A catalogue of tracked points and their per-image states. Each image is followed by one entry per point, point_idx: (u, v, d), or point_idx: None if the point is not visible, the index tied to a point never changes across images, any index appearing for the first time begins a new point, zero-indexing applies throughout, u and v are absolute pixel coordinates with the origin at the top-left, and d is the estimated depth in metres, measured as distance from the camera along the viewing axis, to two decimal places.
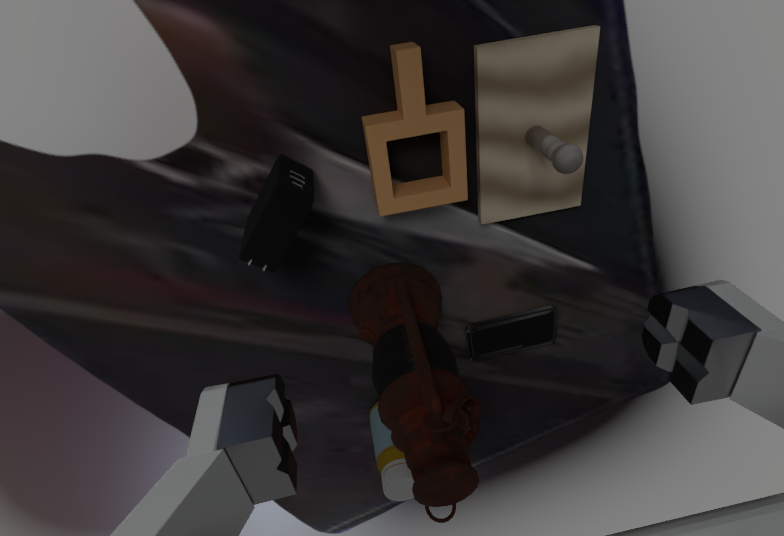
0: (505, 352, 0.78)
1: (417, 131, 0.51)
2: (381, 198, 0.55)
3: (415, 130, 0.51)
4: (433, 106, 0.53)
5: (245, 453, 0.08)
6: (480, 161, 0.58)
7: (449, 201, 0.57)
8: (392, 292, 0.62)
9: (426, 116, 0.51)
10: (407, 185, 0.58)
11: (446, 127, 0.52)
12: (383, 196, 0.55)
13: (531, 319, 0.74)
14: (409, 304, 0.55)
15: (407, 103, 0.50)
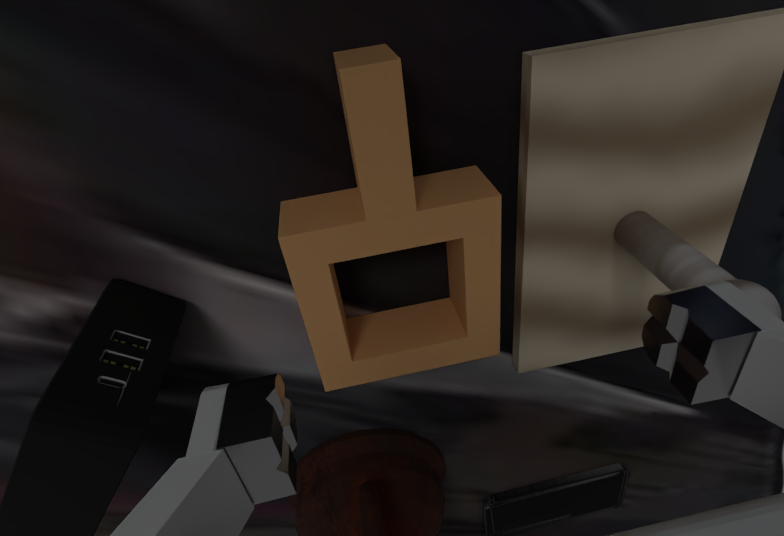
0: (542, 525, 0.50)
1: (397, 242, 0.23)
2: (326, 363, 0.27)
3: (393, 240, 0.23)
4: (432, 180, 0.25)
5: (245, 453, 0.08)
6: (524, 276, 0.30)
7: (464, 359, 0.29)
8: (357, 500, 0.34)
9: (417, 212, 0.23)
10: (382, 320, 0.30)
11: (461, 232, 0.24)
12: (330, 359, 0.27)
13: (587, 484, 0.47)
14: None
15: (373, 188, 0.21)
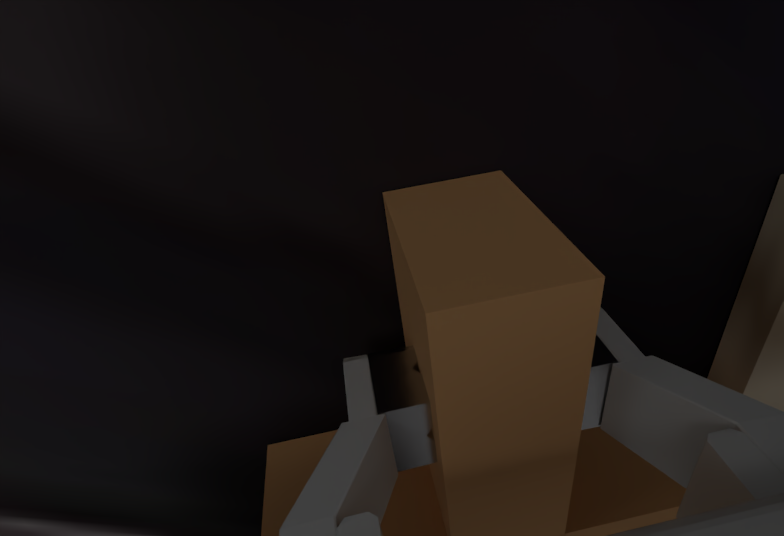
0: None
1: None
2: None
3: None
4: None
5: (403, 419, 0.08)
6: None
7: None
8: None
9: (564, 534, 0.10)
10: None
11: None
12: None
13: None
14: None
15: (478, 514, 0.09)
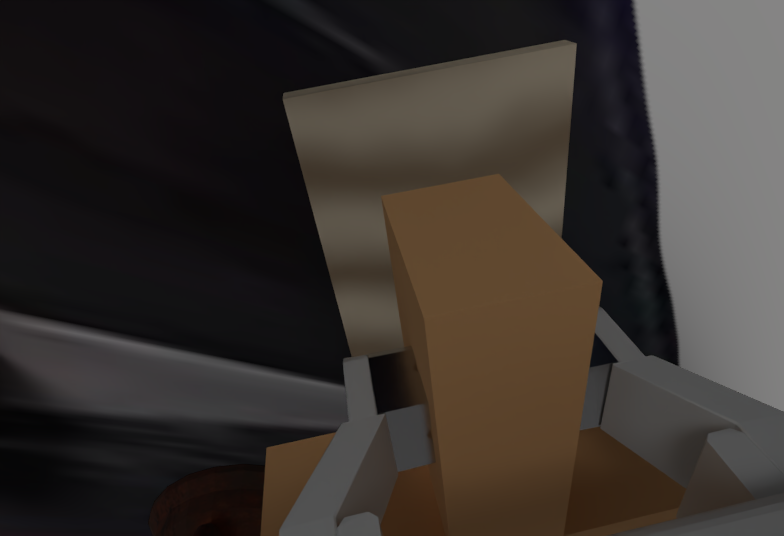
0: None
1: None
2: None
3: None
4: None
5: (403, 419, 0.08)
6: (342, 315, 0.29)
7: None
8: None
9: None
10: None
11: None
12: None
13: None
14: None
15: (477, 516, 0.09)
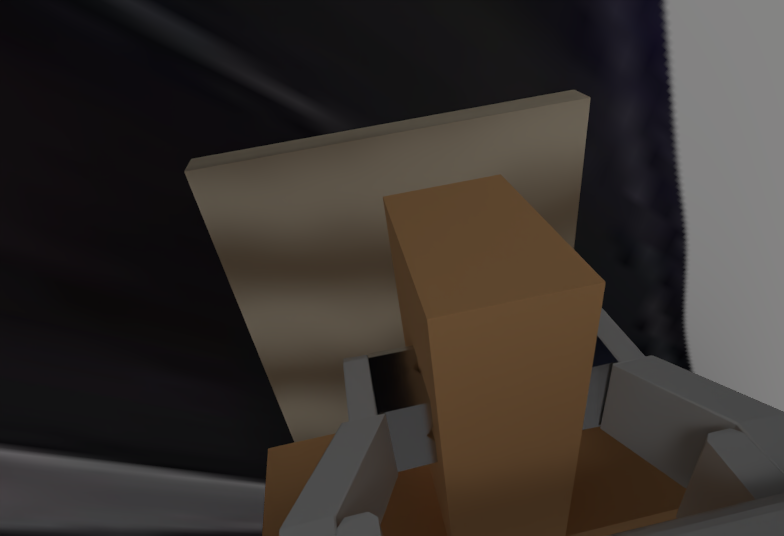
0: None
1: None
2: None
3: None
4: None
5: (403, 418, 0.08)
6: (288, 421, 0.23)
7: None
8: None
9: None
10: None
11: None
12: None
13: None
14: None
15: (479, 517, 0.09)
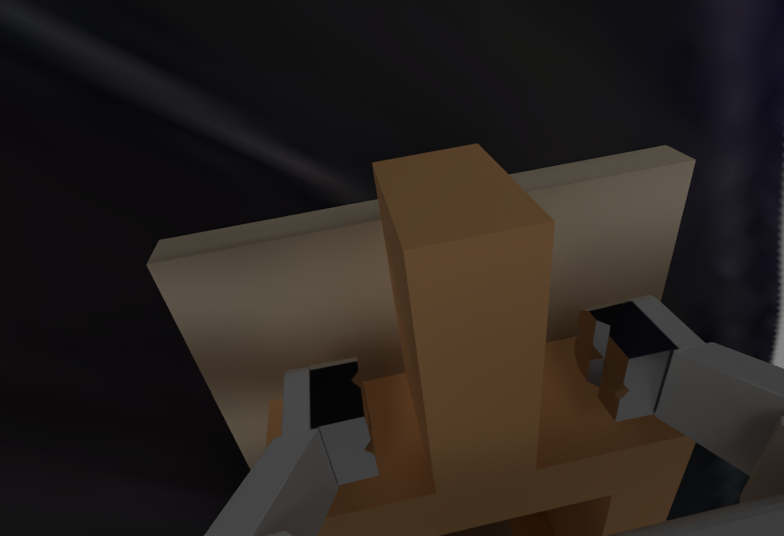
0: None
1: (491, 513, 0.12)
2: None
3: (483, 512, 0.12)
4: None
5: (337, 433, 0.08)
6: None
7: None
8: None
9: (535, 471, 0.11)
10: None
11: (610, 488, 0.12)
12: None
13: None
14: None
15: (456, 446, 0.10)
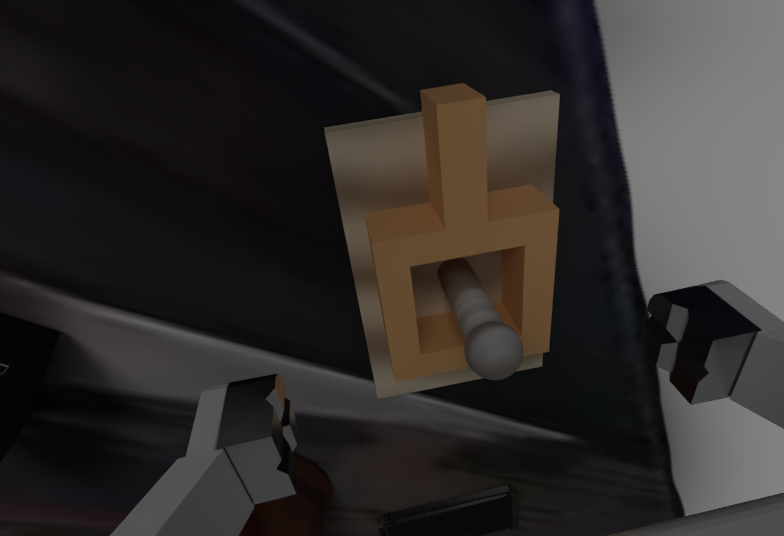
0: None
1: (469, 248, 0.27)
2: (398, 355, 0.31)
3: (465, 247, 0.27)
4: (495, 197, 0.29)
5: (245, 453, 0.08)
6: (362, 313, 0.34)
7: None
8: None
9: (488, 223, 0.27)
10: (443, 320, 0.34)
11: (523, 240, 0.28)
12: (402, 352, 0.31)
13: (477, 506, 0.49)
14: None
15: (454, 201, 0.26)
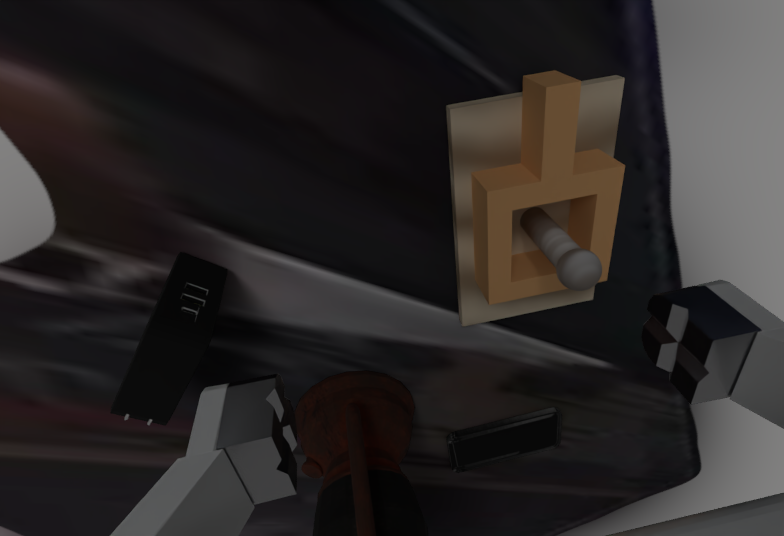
0: (497, 460, 0.63)
1: (556, 196, 0.36)
2: (494, 283, 0.40)
3: (554, 195, 0.36)
4: None
5: (245, 453, 0.08)
6: (459, 253, 0.43)
7: None
8: (345, 418, 0.47)
9: (572, 176, 0.36)
10: (522, 258, 0.43)
11: (596, 190, 0.37)
12: (497, 280, 0.40)
13: (529, 424, 0.59)
14: (360, 456, 0.40)
15: (550, 159, 0.35)
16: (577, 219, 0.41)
